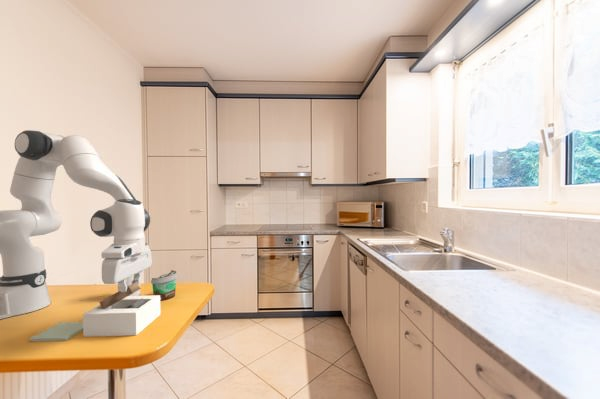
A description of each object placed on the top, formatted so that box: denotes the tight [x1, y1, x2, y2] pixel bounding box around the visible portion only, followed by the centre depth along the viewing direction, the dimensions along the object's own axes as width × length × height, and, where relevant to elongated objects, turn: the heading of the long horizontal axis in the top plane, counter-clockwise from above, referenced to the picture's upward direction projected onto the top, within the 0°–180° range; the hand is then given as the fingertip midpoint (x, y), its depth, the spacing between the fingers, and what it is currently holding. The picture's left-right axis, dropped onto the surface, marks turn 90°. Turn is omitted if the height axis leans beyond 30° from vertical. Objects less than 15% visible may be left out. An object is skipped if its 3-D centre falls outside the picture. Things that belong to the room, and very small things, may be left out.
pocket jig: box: [82, 294, 162, 337], centre depth 85 cm, size 16×14×7 cm
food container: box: [150, 270, 179, 302], centre depth 108 cm, size 12×6×10 cm, turn 168°
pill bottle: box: [117, 275, 141, 296], centre depth 110 cm, size 8×8×15 cm
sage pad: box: [28, 321, 83, 342], centre depth 81 cm, size 11×10×1 cm
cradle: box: [124, 298, 145, 309], centre depth 85 cm, size 12×5×2 cm, turn 91°
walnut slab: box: [99, 282, 141, 309], centre depth 85 cm, size 11×4×3 cm, turn 91°
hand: (130, 288), depth 85 cm, fingers closed on walnut slab, 4 cm apart
